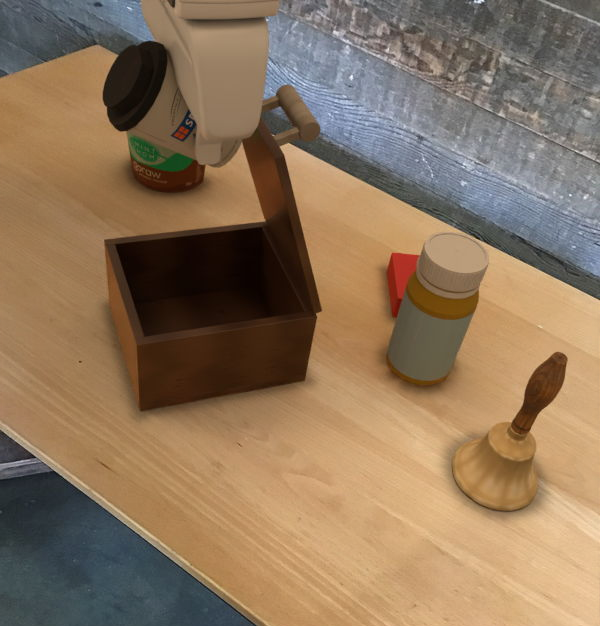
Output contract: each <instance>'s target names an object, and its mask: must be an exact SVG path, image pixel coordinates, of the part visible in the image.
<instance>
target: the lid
mask: <svg viewBox="0 0 600 626" xmlns="http://www.w3.org/2000/svg"><path fill="white" fill-rule="evenodd" d="M278 108H280V109H281V110H282V112H283V113H284V115H285V117H286V118H287V120H288V121H289V123H290V124H291V126H292V128H289V129H287V130H284V131H282V132H279V133H277V134H275V135H273V133H272V132H271V130H270V128H269V127H268V125H267V123H266V122H265V120H264V118H263V117H262V114H265V113H267V112H270V111H272V110H275V109H278ZM320 134H321V125H320V123H319V122H318V121H317V119H316V117H315V116H314V115H313V113H312V112H311V110H310V109H309V108H308V106H307V104H306V103H305V101H304V100H303V98H302V97H301V95H300V94H299V92H298V91H297V89H296V88H295V87H294V86H293V85H291V84H283V85H281V86H280V87H279V88H278V89H277V90H276V93H275V95H274V96H270V97H269V98H266V99H263V102H262V109H261V115H260V120H259V124H258V126H257V128H256V130H255V131H254V133H253V134H252V135H251V136H250V137H249V138H245V139H243V140H242V143H241V145H242V147H243V150H244V154H245V157H246V161H247V166H248V168H249V172H250V175H251V178H252V181H253V185H254V189H255V191H256V196H257V199H258V202H259V206H260V209H261V212H262V215H263V219H264V221H266V223H267V225H268V227H269V229H270V230H271V232H272V234H273V236H274V238H275V240H276V242H277V244H278V246H279V248H280V250H281V251H282V253H283V255H284V257H285V259H286V261H287V263H288V265H289V267H290V269H291V271H292V273H293V274H294V276H295V278H296V280H297V282H298V284H299V286H300V288H301V290H302V292H303V294H304V295H305V297H306V299H307V301H308V303H309V305H310V307H311V309H312V311H313V313H314V314H316V315H317V314H319V313H321V312H323V307H322V304H321V301H320V296H319V292H318V288H317V284H316V280H315V276H314V271H313V268H312V263H311V259H310V255H309V251H308V247H307V243H306V242H307V241H306V238H305V234H304V229H303V226H302V221H301V218H300V214H299V208H298V205H297V201H296V197H295V192H294V189H293V185H292V181H291V177H290V173H289V168H288V165H287V160H286V156H285V153H284V152H283V150H282V148H281V147H282V146H285V145H287V144H290V143H292V142H295V141H298V140H301V141H303V142H306V143H312V142H313V141H315V140H316V139H318V137H319V136H320Z"/></svg>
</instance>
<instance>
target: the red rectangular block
mask: <svg viewBox="0 0 600 626" xmlns="http://www.w3.org/2000/svg"><path fill="white" fill-rule="evenodd" d="M420 255H421V254H412V253H402V252H391V254H390V258H389V262H388V265H387V269H386V277H387V284H388V293H389V300H390V308H391V316H392V318H397V315H398V312H399V309H400V305H401V302H402V299H403V295H404V292H405V289H406V285H407V283H408V280H409V277H410V276H411V275H412V274H413V272H414V271H415V270H416V268H417V265H418V263H419V258H420Z"/></svg>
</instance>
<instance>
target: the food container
mask: <svg viewBox="0 0 600 626" xmlns="http://www.w3.org/2000/svg"><path fill="white" fill-rule="evenodd" d="M125 132H126V138H127V146H128V152H129V159H130V165H131V172H132V175H133V177H134V179H135V180H136V181H137V182H138V184H140V185H141V186H144V187H145V188H146V189H150V190H152V191H156V192H162V193H182V192H186V191H190V190H193V189H194V188H196V187H198V186H199V185H200V184H202V182H204V178H205V172H206V167H207V165H201V164H199V163H198V161H197V160H194V159H192V158H190V157H187V156H185V155H182V154H180V153H177V152H175V151H173V150H170V149H168V148H165V147H163V146H161V145H158V144H156V143H153V142H151V141H149V140H146V139H144V138H141V137H139V136H137V135H134V134H132V133H129V132H127V131H125Z"/></svg>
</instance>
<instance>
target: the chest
mask: <svg viewBox="0 0 600 626" xmlns="http://www.w3.org/2000/svg"><path fill="white" fill-rule="evenodd" d="M103 244H104V245H103V246H104V256H105V257H104V258H105V268H106V269H105V270H106V280H107V291H108V292H107V293H108V305H109V306H108V307H109V310H110V314H111V317H112V321H113V324H114V327H115V331H116V334H117V337H118V342H119V344H120V348H121V351H122V356H123V358H124V362H125V365H126V368H127V372H128V375H129V379H130V383H131V386H132V390H133V393H134V395H135V400H136V404H137V406H138V410H139V412H144V411H148V410H154V409H159V408H164V407H170V406H171V407H172V406H176V405H180V404H181V405H182V404H187V403H191V402H193V403H194V402H198V401H202V400H203V401H204V400H209V399H214V398H219V397H225V396H229V395H236V394H240V393H245V392H252V391H256V390H262V389H263V390H264V389H268V388H273V387H278V386H284V385H289V384H295V383H300V382H305V381H306V378H307V372H308V368H309V362H310V356H311V351H312V346H313V340H314V335H315V331H316V325H317V322H318V321H317V320H318V315H317V313H316V314H314V313H313V311H312V309H311V307H310V305H309V303H308V301H307V299H306V297H305V295H304V294H303V292H302V290H301V288H300V286H299V284H298V282H297V280H296V278H295V276H294V274H293V273H292V271H291V269H290V267H289V265H288V263H287V261H286V259H285V257H284V255H283V253H282V251H281V250H280V248H279V246H278V244H277V242H276V240H275V238H274V236H273V234H272V232H271V230H270V229H269V227H268V225H267V223H266V221H265V220H264V221H258V222H257V221H256V222H247V223H238V224H230V225H220V226H210V227H203V228H193V229H184V230H177V231H176V230H175V231H167V232H159V233H148V234H141V235H140V234H139V235H132V236H121V237H115V238H106V239H105V238H104V239H103Z"/></svg>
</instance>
